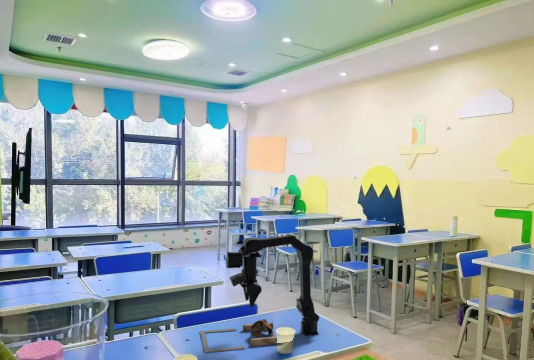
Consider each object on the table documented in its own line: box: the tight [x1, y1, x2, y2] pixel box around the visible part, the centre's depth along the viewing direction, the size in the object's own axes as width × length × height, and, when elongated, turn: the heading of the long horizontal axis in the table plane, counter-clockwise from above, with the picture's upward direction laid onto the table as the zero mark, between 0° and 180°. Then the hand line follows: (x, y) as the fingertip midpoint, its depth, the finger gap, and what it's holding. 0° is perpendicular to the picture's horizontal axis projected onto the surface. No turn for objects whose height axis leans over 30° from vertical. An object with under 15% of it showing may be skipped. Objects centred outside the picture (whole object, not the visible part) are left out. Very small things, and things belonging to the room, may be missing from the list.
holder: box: [242, 322, 277, 347], centre depth 163 cm, size 14×17×2 cm
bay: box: [199, 328, 246, 354], centre depth 158 cm, size 16×21×1 cm
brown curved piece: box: [249, 319, 275, 338], centre depth 163 cm, size 12×10×8 cm
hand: (249, 303), depth 161 cm, fingers open, 9 cm apart
